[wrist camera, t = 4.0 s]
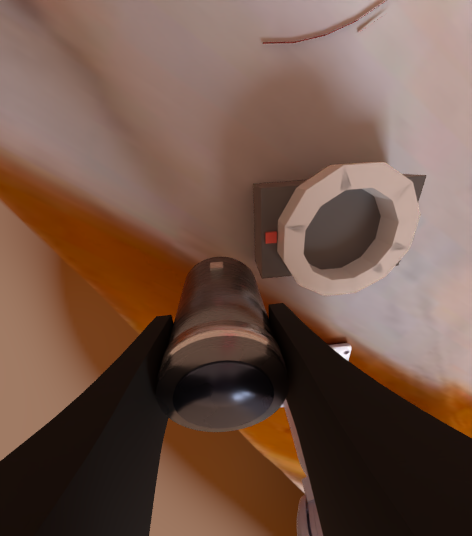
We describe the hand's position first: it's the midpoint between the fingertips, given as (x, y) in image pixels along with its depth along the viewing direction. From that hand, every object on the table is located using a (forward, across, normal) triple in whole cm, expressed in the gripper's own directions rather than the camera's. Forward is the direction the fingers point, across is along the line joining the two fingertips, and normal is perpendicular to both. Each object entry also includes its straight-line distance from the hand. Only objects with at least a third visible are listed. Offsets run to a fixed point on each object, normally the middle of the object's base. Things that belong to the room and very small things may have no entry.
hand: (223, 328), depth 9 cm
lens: (+3, 0, 0) cm, 3 cm away
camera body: (+9, -8, -2) cm, 12 cm away
